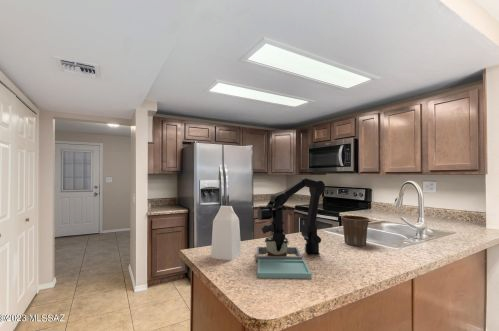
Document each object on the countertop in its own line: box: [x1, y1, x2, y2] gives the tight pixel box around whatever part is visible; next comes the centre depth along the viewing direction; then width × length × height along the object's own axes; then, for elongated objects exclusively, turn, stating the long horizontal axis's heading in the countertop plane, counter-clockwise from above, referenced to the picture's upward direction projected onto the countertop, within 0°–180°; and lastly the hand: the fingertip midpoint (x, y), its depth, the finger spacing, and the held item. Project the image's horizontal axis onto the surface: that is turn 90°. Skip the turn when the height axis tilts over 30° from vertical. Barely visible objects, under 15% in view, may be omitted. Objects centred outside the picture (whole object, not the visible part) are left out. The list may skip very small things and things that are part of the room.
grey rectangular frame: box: [255, 246, 303, 264], centre depth 131 cm, size 22×17×3 cm
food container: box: [264, 236, 290, 256], centre depth 131 cm, size 12×6×10 cm, turn 71°
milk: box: [210, 205, 242, 261], centre depth 134 cm, size 12×12×26 cm
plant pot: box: [340, 214, 370, 247], centre depth 156 cm, size 16×16×16 cm
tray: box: [256, 259, 312, 280], centre depth 113 cm, size 22×17×2 cm
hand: (278, 249), depth 130 cm, fingers closed on food container, 6 cm apart
